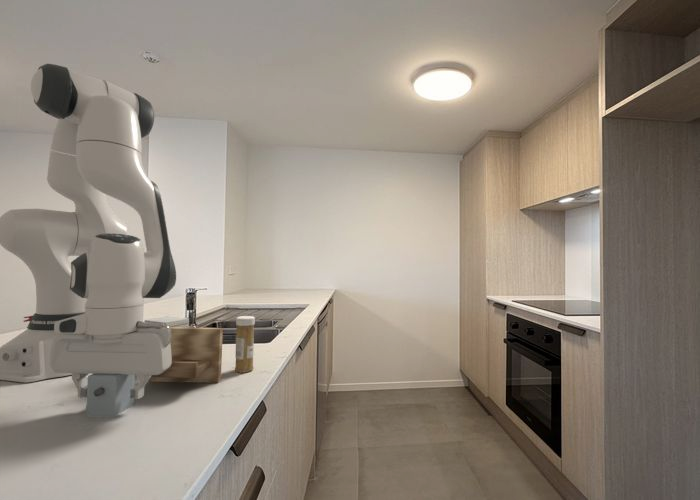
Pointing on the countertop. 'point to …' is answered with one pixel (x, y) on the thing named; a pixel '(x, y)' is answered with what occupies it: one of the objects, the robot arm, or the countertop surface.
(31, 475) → the countertop surface
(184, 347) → the wall board
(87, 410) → the cabinet box
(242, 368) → the sprinkles bottle
